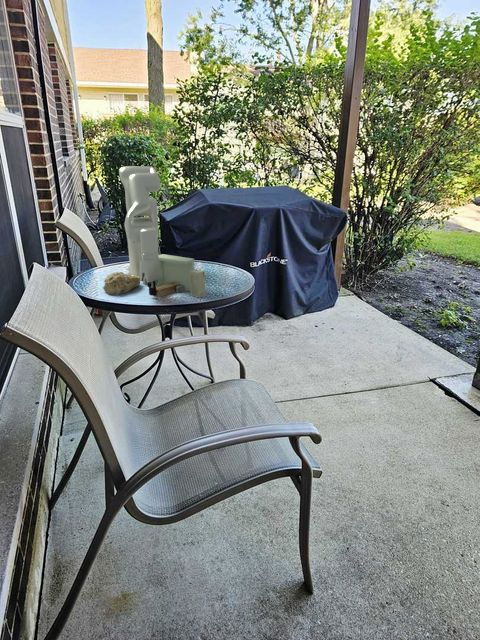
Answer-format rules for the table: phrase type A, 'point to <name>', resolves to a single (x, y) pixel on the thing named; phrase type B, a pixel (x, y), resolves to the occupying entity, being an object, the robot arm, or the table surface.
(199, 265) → the table surface
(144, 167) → the robot arm
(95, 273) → the table surface
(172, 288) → the walnut batten
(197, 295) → the skincare box
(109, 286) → the rock
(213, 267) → the table surface
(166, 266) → the shelter
